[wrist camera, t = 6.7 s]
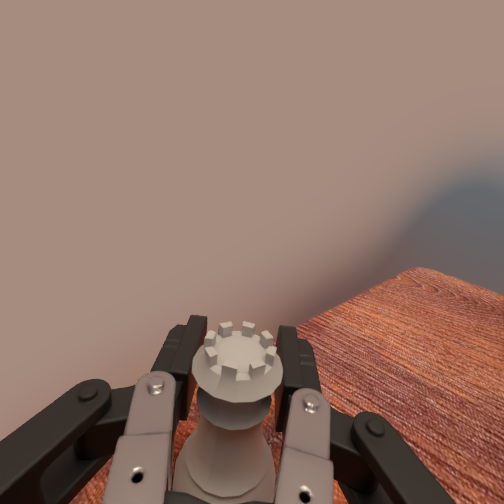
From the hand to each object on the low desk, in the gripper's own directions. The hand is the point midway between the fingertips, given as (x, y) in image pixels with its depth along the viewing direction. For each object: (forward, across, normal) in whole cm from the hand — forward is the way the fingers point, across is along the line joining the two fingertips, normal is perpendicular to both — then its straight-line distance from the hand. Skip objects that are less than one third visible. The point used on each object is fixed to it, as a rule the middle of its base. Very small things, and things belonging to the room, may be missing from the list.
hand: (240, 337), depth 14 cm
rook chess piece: (-3, 0, +6) cm, 7 cm away
